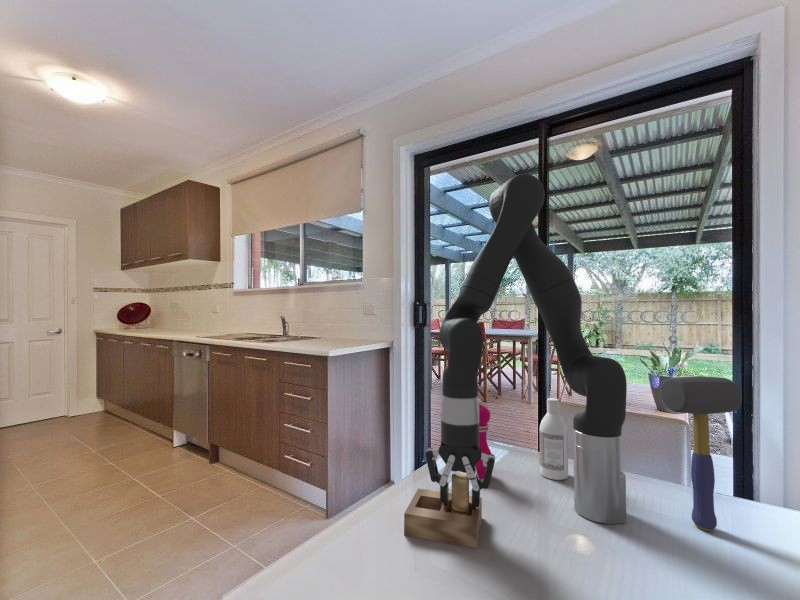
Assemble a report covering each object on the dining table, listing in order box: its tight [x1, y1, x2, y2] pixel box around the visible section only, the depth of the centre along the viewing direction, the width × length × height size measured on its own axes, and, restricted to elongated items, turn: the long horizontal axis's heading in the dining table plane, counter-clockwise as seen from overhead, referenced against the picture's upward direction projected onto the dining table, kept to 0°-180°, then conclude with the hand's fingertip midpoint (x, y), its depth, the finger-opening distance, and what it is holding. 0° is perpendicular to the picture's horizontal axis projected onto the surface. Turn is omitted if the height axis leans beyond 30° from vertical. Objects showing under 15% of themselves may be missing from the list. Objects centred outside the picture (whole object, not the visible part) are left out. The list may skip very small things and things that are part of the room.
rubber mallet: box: [660, 375, 743, 532], centre depth 75 cm, size 12×8×30 cm, turn 95°
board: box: [403, 488, 483, 549], centre depth 74 cm, size 14×11×4 cm
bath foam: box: [538, 397, 569, 481], centre depth 99 cm, size 7×7×20 cm
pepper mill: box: [475, 398, 492, 480], centre depth 98 cm, size 7×7×20 cm
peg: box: [451, 472, 470, 515], centre depth 73 cm, size 4×4×10 cm
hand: (459, 505), depth 73 cm, fingers open, 5 cm apart
